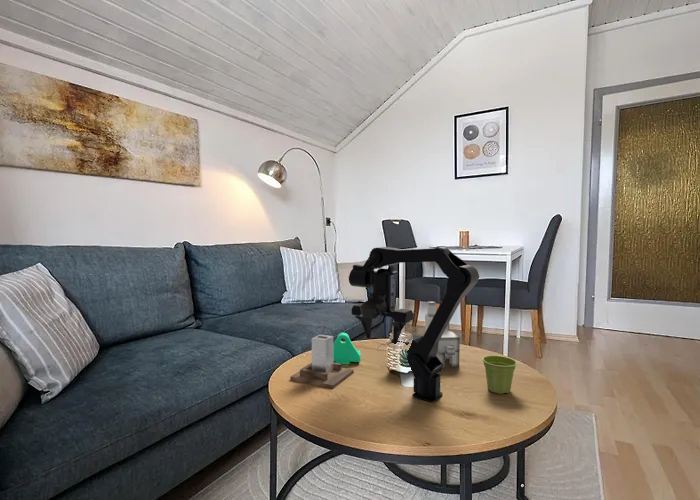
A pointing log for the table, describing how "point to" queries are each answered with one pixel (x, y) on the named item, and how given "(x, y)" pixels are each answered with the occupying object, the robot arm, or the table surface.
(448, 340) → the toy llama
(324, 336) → the block
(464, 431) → the table surface
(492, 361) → the plant pot
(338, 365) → the cradle
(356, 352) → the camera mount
